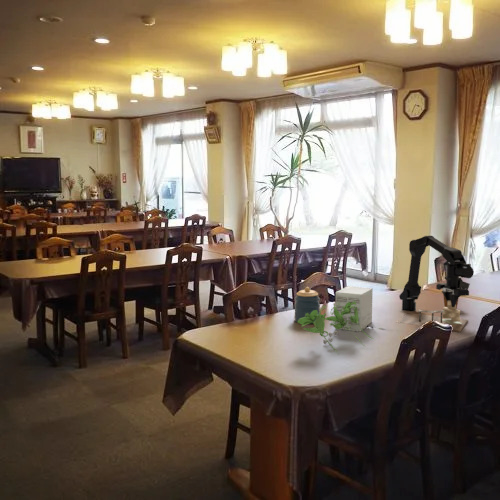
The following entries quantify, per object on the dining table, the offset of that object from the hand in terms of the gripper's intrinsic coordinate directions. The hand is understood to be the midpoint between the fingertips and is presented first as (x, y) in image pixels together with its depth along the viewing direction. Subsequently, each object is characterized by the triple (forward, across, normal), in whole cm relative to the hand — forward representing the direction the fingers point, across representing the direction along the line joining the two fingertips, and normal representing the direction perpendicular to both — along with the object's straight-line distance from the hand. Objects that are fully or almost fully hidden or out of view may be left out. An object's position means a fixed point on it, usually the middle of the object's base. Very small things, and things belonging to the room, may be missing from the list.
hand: (451, 306), depth 266 cm
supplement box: (+9, +9, +48) cm, 50 cm away
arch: (+7, 0, 0) cm, 7 cm away
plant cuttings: (+9, -20, +69) cm, 73 cm away
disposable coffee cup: (+9, +28, -19) cm, 35 cm away
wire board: (+9, +4, +8) cm, 12 cm away
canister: (+9, +25, +66) cm, 71 cm away
